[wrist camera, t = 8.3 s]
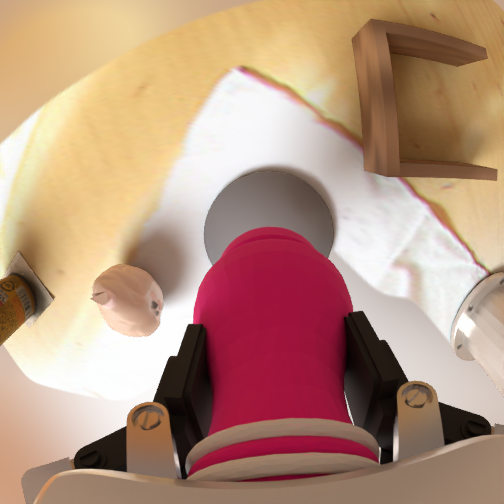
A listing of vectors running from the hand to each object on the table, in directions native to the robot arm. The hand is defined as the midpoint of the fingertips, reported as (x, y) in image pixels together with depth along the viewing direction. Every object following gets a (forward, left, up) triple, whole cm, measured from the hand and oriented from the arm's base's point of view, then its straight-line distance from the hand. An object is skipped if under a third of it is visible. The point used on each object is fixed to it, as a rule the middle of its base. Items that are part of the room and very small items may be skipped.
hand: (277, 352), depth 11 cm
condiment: (+24, +19, -16) cm, 34 cm away
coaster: (0, 0, -16) cm, 16 cm away
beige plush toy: (+9, +10, -16) cm, 21 cm away
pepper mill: (0, 0, -7) cm, 7 cm away
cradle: (-7, -17, -16) cm, 24 cm away
